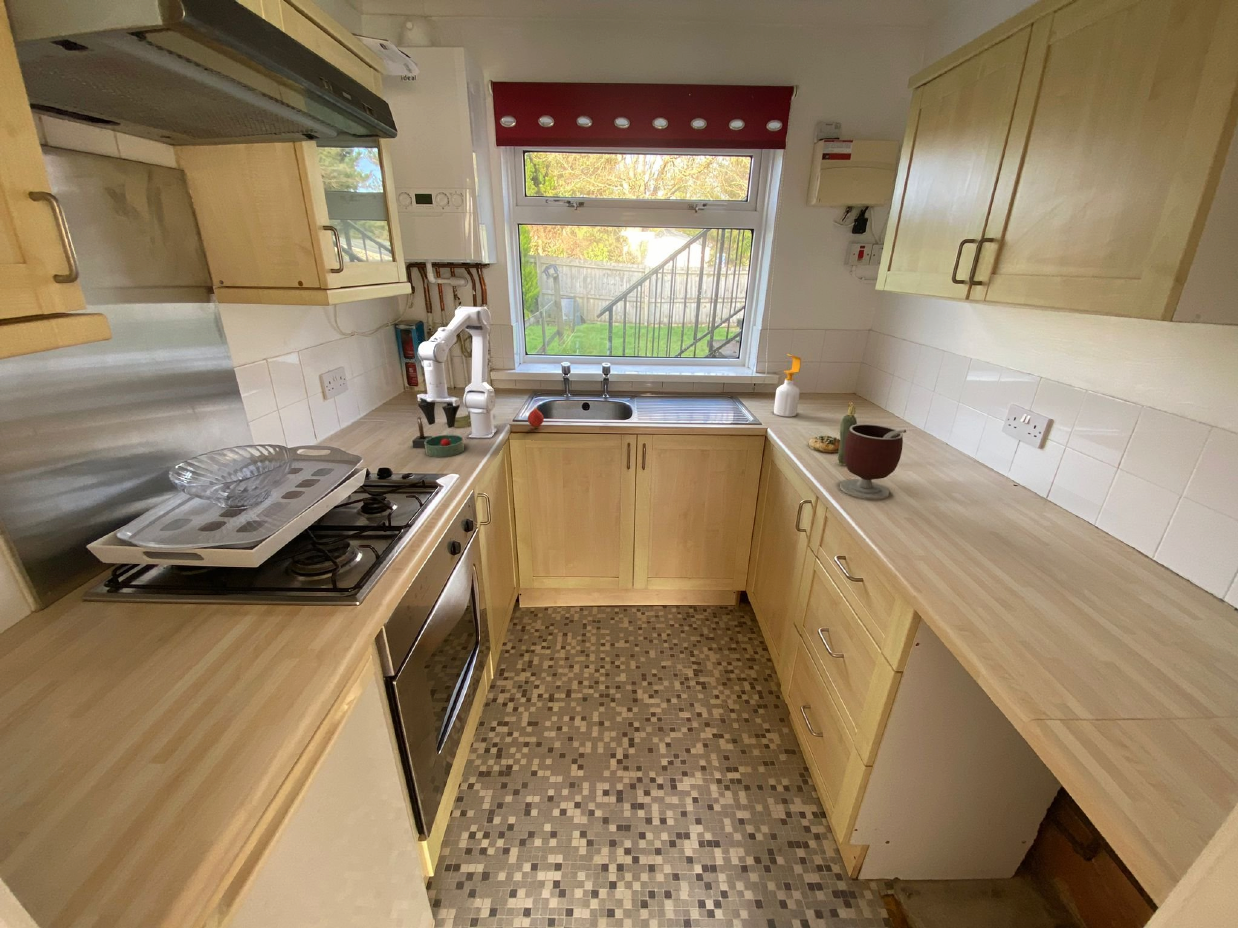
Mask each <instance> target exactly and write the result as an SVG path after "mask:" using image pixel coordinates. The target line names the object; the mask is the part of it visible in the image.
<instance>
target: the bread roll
mask: <svg viewBox="0 0 1238 928" xmlns="http://www.w3.org/2000/svg"><path fill="white" fill-rule="evenodd" d="M839 445H840V438H837V437H836V436H834V437H833V436H830V435H824V436H823V435H819V436H817V437H812V438H811V439H809V441H808V446H809V447H810V449H811V450H815V451H820V452H823V453H826V454H827V453H828V454H834V453H839Z"/></svg>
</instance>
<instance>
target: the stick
mask: <svg viewBox="0 0 1238 928" xmlns="http://www.w3.org/2000/svg"><path fill="white" fill-rule="evenodd" d="M417 427H418V432H419V436H420V439H425V437H424V436H425V430H424V423H423V417H422V416H418V417H417Z"/></svg>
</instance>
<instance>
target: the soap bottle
mask: <svg viewBox="0 0 1238 928" xmlns="http://www.w3.org/2000/svg"><path fill="white" fill-rule="evenodd" d="M786 356H788V357H790V358H792V365H791V369H789V370H783V373H785V374H786V375H787V377H785V379H784V383H783V384H781V385H779V386H778V387H777V388H776V391H775V396H774V404H773V405H774V407H773V414H774V415H776V416H779V417H786V418H791V417H794V416H796V415H797V413H798V407H799V406H798V405H799V399H800V393H801V392H800V389H799V388H798V387H797V386H796V385H795V384H794V380H795V379H794V377H793V376H794V375H795V374H799V373H800V371H801V364H802V358H801V357H799V356H796V355H794V354H793V355H792V354H788V353H787V354H786Z"/></svg>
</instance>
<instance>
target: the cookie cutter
mask: <svg viewBox="0 0 1238 928" xmlns="http://www.w3.org/2000/svg"><path fill="white" fill-rule="evenodd" d="M467 427H471V417H470V411H468V410H467V415H463V416H456V418H455V425H454V427H453V428H467Z"/></svg>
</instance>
